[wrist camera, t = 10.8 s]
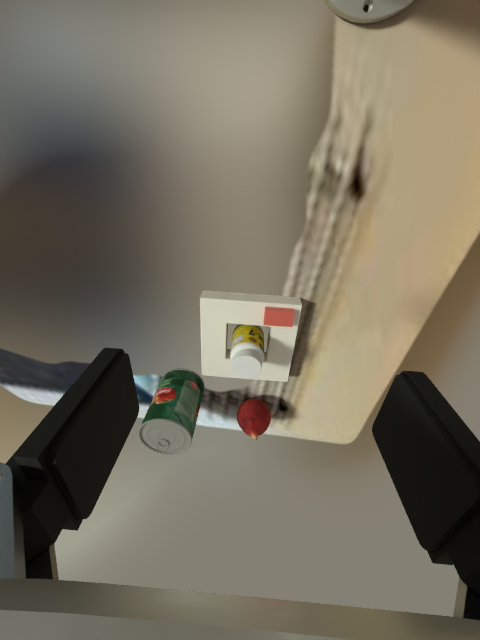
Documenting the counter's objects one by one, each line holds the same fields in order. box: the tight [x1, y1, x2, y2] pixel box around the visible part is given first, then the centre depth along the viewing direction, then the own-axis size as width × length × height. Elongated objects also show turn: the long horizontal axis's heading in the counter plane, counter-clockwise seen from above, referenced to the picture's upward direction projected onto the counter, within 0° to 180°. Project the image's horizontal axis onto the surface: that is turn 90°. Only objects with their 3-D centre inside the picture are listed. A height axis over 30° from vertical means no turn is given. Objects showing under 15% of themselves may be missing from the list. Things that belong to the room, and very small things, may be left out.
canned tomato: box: [138, 368, 204, 455], centre depth 43 cm, size 8×8×11 cm
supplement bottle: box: [230, 324, 264, 379], centre depth 38 cm, size 5×5×8 cm
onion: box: [237, 398, 271, 440], centre depth 46 cm, size 6×6×8 cm
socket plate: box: [200, 291, 302, 382], centre depth 40 cm, size 14×14×4 cm
